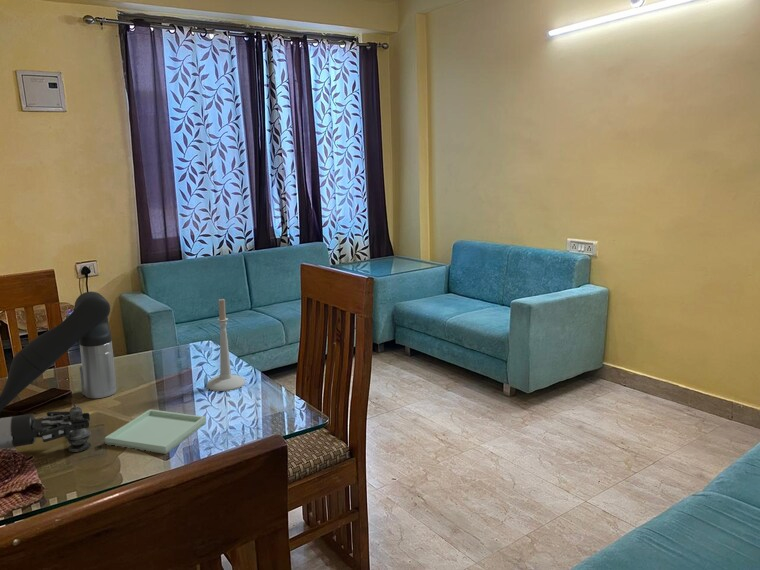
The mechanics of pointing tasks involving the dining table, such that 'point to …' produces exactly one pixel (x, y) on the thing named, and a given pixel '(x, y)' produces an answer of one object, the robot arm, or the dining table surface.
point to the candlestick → (224, 360)
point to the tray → (156, 431)
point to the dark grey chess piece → (78, 432)
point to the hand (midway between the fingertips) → (88, 419)
